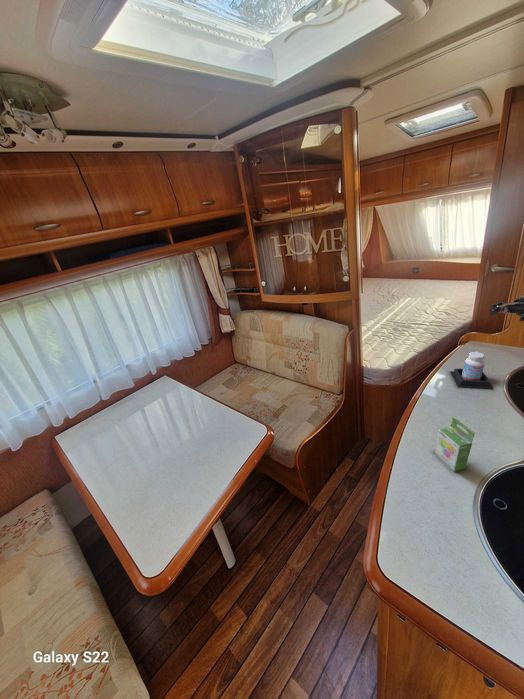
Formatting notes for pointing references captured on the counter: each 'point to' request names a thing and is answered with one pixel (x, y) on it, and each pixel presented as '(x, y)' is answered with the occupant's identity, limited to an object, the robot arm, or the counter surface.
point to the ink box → (454, 445)
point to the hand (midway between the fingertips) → (506, 315)
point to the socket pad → (470, 381)
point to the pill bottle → (473, 366)
